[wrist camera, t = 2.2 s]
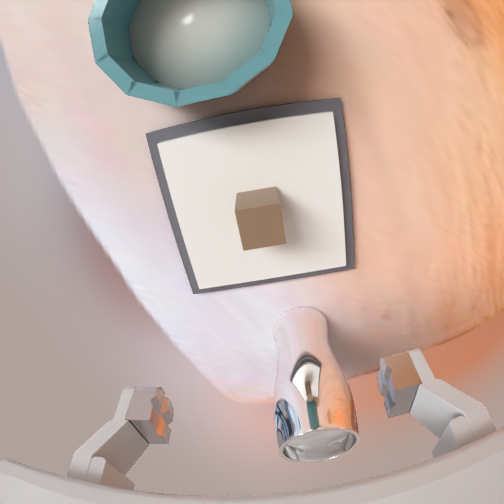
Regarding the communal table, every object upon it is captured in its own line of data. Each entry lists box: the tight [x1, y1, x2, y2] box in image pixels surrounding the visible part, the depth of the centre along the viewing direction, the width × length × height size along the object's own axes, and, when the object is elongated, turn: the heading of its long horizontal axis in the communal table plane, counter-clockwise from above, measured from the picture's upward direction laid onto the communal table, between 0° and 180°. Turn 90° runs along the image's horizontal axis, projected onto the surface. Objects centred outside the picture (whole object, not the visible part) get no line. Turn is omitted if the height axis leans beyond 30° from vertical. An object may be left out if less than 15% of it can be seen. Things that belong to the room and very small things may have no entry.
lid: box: [157, 111, 346, 289], centre depth 25 cm, size 14×14×5 cm
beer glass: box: [273, 307, 360, 463], centre depth 28 cm, size 7×7×15 cm
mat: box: [146, 98, 354, 294], centre depth 27 cm, size 16×16×1 cm
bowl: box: [88, 0, 293, 107], centre depth 18 cm, size 13×13×6 cm
